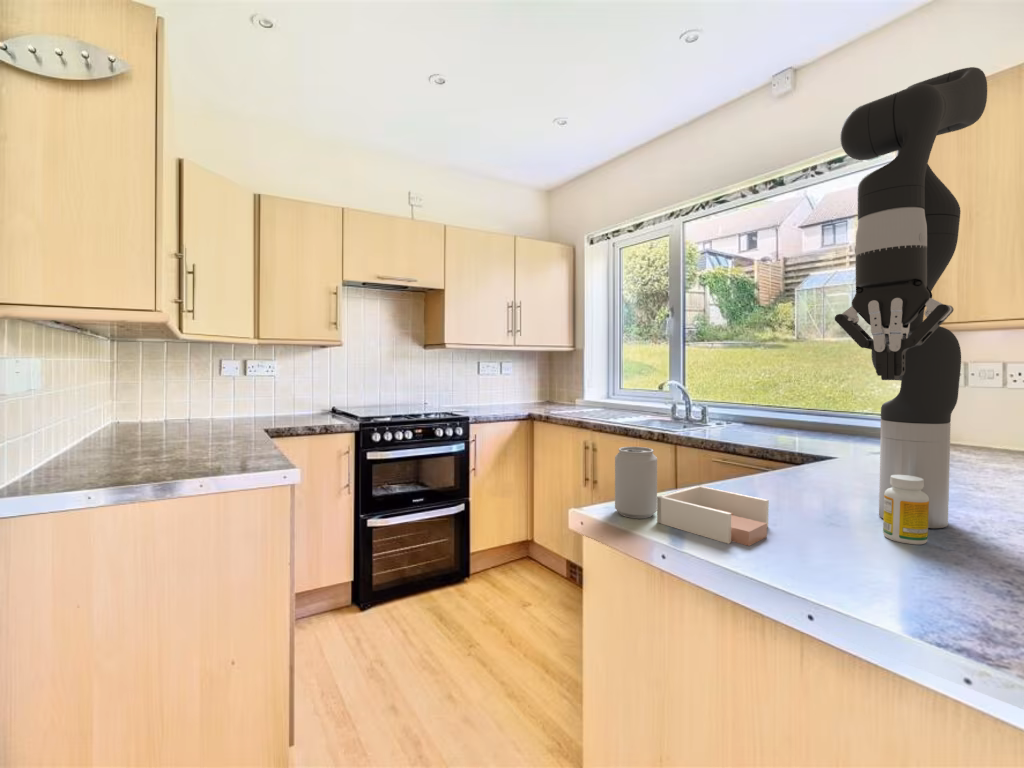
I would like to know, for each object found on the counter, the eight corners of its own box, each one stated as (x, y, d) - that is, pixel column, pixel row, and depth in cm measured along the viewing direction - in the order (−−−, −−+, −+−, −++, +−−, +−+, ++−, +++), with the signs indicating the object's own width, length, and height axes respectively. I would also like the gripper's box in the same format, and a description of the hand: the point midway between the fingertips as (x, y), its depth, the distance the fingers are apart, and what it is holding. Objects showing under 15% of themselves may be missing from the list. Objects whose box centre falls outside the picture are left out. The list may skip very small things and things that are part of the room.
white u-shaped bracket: (698, 509, 91) (698, 485, 91) (768, 526, 81) (768, 500, 81) (657, 522, 84) (657, 496, 83) (728, 543, 73) (728, 514, 73)
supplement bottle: (875, 536, 76) (877, 475, 76) (894, 531, 79) (896, 472, 78) (916, 547, 71) (917, 482, 71) (935, 541, 74) (936, 479, 73)
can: (652, 508, 92) (653, 445, 92) (660, 520, 85) (661, 452, 84) (612, 507, 93) (612, 444, 93) (617, 519, 85) (617, 451, 85)
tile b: (729, 529, 81) (729, 514, 81) (766, 539, 76) (766, 523, 76) (710, 537, 77) (710, 522, 77) (749, 548, 73) (749, 531, 72)
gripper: (964, 242, 62) (963, 379, 62) (844, 262, 72) (845, 378, 73) (947, 234, 57) (947, 381, 58) (823, 256, 68) (823, 380, 68)
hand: (890, 379), depth 65 cm, fingers closed
